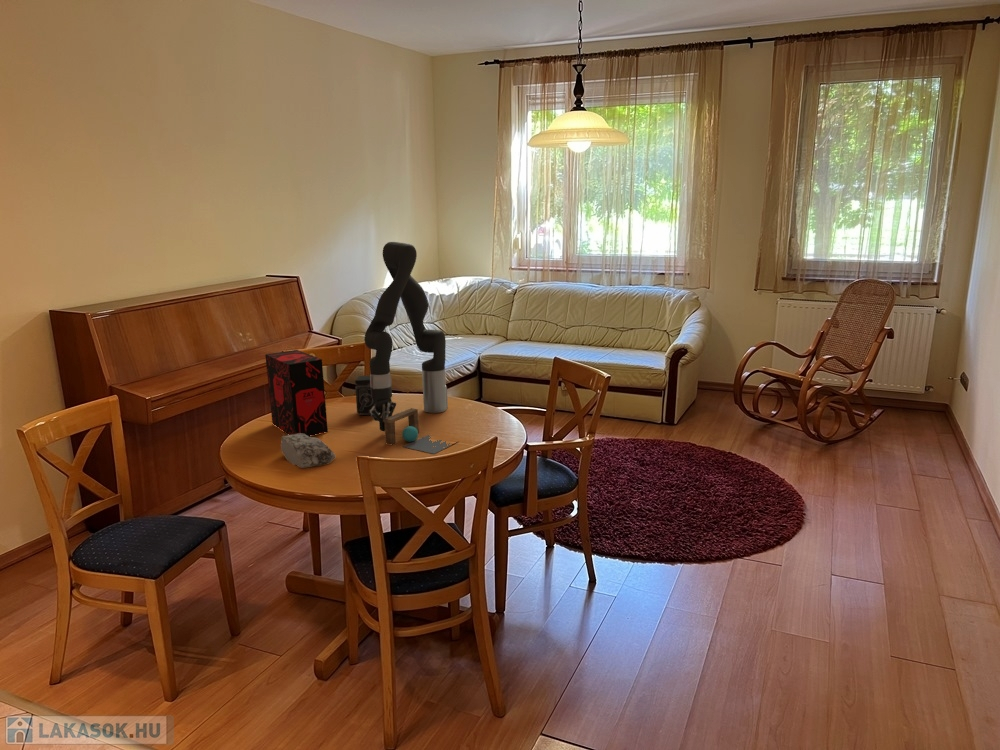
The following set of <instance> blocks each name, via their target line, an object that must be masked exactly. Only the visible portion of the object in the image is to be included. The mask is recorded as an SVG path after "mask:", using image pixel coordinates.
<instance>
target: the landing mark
mask: <svg viewBox="0 0 1000 750" xmlns="http://www.w3.org/2000/svg"><path fill="white" fill-rule="evenodd" d="M430 436H431V435H430V434H427V435H425V436H423V437H420V438H417V439H416V440H415V441H413V442H408V443H407V444H404V445H403V446H402V448H404V447H406V448H405V449H409V448H410V450H413V449H414V450H413V451H418V450H419V452H422V451H424V452H423V453H426V452H427V453H428V454H432V455H435V454H438V453H440V452H441V450H442V451H443V450H446V449H448V448H450V447H451V446H450V445H449V444H450V443H449V444H448V446H447V444H446V441H445V442H443V443H441V444H440V442H441V441H442V440H439V441H438V440H437V442H436V441H435V442H433V443H432V441H431V440H430V441H429V439H430V438H431V437H430ZM429 437H430V438H429ZM433 446H434V447H433ZM435 446H436V447H435ZM449 446H450V447H449ZM443 447H445V448H446V449H445V448H443ZM447 447H448V448H447Z"/></svg>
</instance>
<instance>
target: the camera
mask: <svg viewBox="0 0 1000 750" xmlns="http://www.w3.org/2000/svg"><path fill="white" fill-rule="evenodd" d="M354 382H355V389H354V390H355V401H356V413H357V415H359V416H364V415H366V416H368V415H370V414H369V412H368V410H371V409H372V407H373V399H372V398H371V385H370V375H367V374H366V375H359V376H358V377H357V378H356V379H355V381H354ZM370 416H371V415H370Z"/></svg>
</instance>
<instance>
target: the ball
mask: <svg viewBox="0 0 1000 750" xmlns="http://www.w3.org/2000/svg"><path fill="white" fill-rule="evenodd" d="M418 437H419V434H418V431H417V429H416V428H415V427H413V426H409V425H408V426H406V427H404V429H403V430H402V438H403V439H404V441H406V442H408V443H412V442H414V441H416V440H418Z"/></svg>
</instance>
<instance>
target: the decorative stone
mask: <svg viewBox="0 0 1000 750" xmlns="http://www.w3.org/2000/svg"><path fill="white" fill-rule="evenodd" d="M280 440H281V442H280V449H281V452H282V454H283V455H284V457H285V459H286V460H287V462H288V461H289V462H288V463H289V464H292V465H294V466H298V467H299V468H302V469H305V468H313V467H320V466H324V465H329V464H330V463H332V462H333V461H334V460H335V459H336V458H337V457H336V454H335V452H334V450H332V449H331V448H329V446H328V445H327V444H326V443H325V442H323V440H321V439H320V438H318V437H314V436H310V437H309V436H307V435H306V434H303V433H297V434H293V435H288V434H286V435H282V436H281V437H280Z"/></svg>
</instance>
